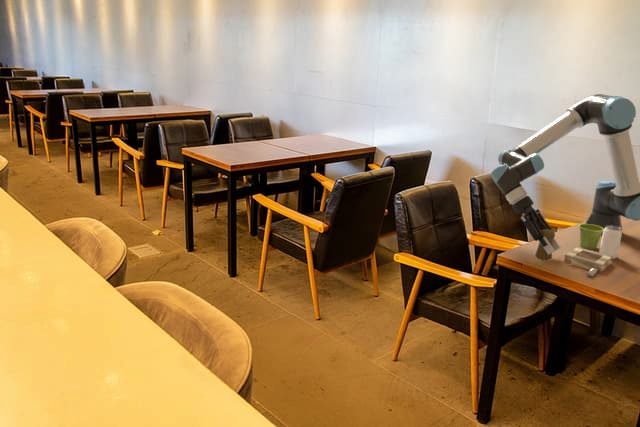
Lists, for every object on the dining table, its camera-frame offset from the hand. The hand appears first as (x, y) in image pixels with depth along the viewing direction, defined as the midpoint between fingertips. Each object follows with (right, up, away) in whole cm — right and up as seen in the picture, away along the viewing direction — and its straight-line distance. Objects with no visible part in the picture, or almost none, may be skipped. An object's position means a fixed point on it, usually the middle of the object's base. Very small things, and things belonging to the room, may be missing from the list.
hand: (554, 251), depth 205 cm
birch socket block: (+12, -5, -1) cm, 13 cm away
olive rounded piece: (-3, -3, +4) cm, 5 cm away
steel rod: (+10, -7, -10) cm, 16 cm away
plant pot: (+21, 0, +17) cm, 27 cm away
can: (+24, -3, +7) cm, 25 cm away
